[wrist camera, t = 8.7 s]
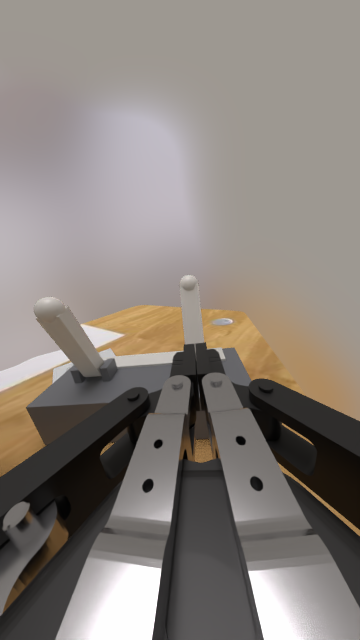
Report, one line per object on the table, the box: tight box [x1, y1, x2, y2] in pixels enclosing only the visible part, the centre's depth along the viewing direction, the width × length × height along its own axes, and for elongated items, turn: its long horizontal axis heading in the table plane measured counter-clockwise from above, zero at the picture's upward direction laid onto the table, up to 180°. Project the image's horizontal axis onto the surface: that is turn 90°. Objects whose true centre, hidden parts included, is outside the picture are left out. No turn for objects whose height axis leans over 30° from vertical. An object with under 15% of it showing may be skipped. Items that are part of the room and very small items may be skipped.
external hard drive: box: [52, 349, 116, 384], centre depth 39 cm, size 2×8×12 cm
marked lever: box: [179, 275, 204, 353], centre depth 23 cm, size 3×3×12 cm
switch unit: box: [26, 348, 251, 445], centre depth 24 cm, size 10×26×8 cm, turn 87°
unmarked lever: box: [34, 297, 104, 377], centre depth 20 cm, size 3×3×12 cm
